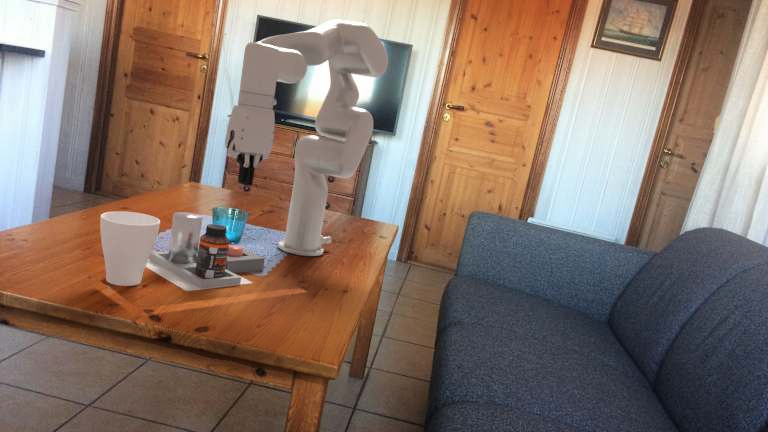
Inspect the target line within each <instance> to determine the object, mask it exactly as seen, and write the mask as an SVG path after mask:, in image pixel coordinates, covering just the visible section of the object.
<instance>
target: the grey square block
mask: <svg viewBox="0 0 768 432" xmlns="http://www.w3.org/2000/svg"><path fill="white" fill-rule="evenodd" d="M265 259H266V258H265V257H263V256H261V255H259V254H257V253H255V252H252V251H250V250H248V249H247V248H244V247H243V255H242V256H239V257H230V256H228V255H227V261H226V268H225V269H226V270H228V271H230V272H232V273H235V274H237V273H239V274H240V273H246V272H257V271H258V272H259V271H264V266H265Z"/></svg>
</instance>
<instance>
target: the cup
mask: <svg viewBox="0 0 768 432" xmlns="http://www.w3.org/2000/svg"><path fill="white" fill-rule="evenodd" d="M99 217H100V220H99V221H100V222H99V223H100V225H99V230H100V231H99V232H100V239H101V248H102V253H103V258H104V265H105V280H106V282H107V283H109V284H110V285H115V286H121V287H123V286H124V287H129V286H130V287H132V286H137V285H140V284H141V283H142V278H143V274H144V272H145V270H146V268H147V267H146V264H147V262H148V259H150V257H151V253H153V250H154V247H155V244H156V240H157V238H158V235H159V230H160V225H161V220H160V219H159V218H158V217H156V216H153V215H150V214H146V213H141V212H133V211H117V210H116V211H106V212H103V213H101V214H100V216H99ZM105 286H106V287H107V288H108V289H110V290H114V289H113V288H112V287H111V286H109V285H107V284H106V285H105Z"/></svg>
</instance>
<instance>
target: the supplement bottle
mask: <svg viewBox="0 0 768 432" xmlns="http://www.w3.org/2000/svg"><path fill="white" fill-rule="evenodd" d="M229 245H230V239H229V238H228V237H227V227H226V226H224V225H221V224H215V223H209V224H206V228H205V233H204V234H201V235H200V240H199V247H198V256H197V263H196V270H195V275H196V276H198V277H200V278H201V279H212V278H222V277H224V274H225V268H226V261H227V254H228V248H229Z"/></svg>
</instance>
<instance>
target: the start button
mask: <svg viewBox="0 0 768 432" xmlns="http://www.w3.org/2000/svg"><path fill="white" fill-rule="evenodd" d="M243 248H244V247H242V246H241V245H235V244H229V248H228V254H227V255H228V256H230V257H239V256H242V255H243Z"/></svg>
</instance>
